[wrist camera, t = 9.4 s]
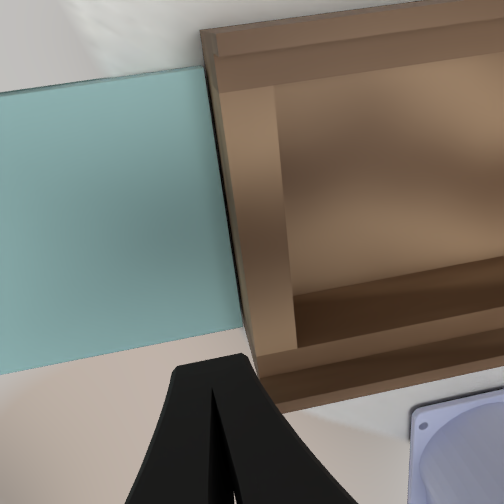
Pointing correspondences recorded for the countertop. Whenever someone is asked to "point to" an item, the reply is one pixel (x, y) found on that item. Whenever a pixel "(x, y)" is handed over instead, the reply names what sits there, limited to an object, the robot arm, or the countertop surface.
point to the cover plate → (110, 219)
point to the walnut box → (364, 194)
